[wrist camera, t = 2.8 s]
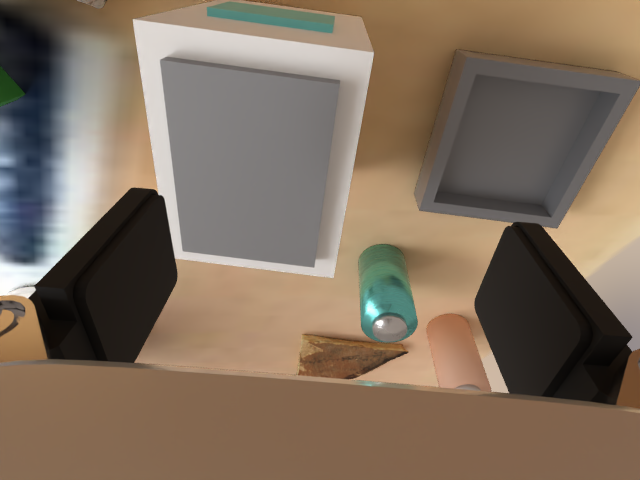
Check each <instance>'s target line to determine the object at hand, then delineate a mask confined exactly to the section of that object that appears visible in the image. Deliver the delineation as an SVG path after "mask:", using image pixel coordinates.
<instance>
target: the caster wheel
mask: <svg viewBox="0 0 640 480" xmlns="http://www.w3.org/2000/svg"><path fill="white" fill-rule="evenodd" d="M77 1H80V2H82V3H85V4H87V5H90V6H93V7H95V8H98V9H99V8H103V7H104V5H105V3H106V1H107V0H77Z"/></svg>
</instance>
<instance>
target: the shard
mask: <svg viewBox="0 0 640 480" xmlns="http://www.w3.org/2000/svg"><path fill="white" fill-rule="evenodd" d="M407 353H408V351H407V350H405V349H404V348H403V344H391V343H370V342H360V341H354V342H352V341H348V340H340V339H331V338H325V337H319V336H314V335H304V334H302V342H301V351H300V357H299V364H298V370H297V373H296V375H300V376H312V377H324V378H336V379H348V380H349V379H353V378H356V377H358V376H360V375H363V374H365V373H367V372H369V371H372V370H373V369H375V368H378V367H379V366H381V365H383V364H385V363H387V362H388V361H390V360H392V359H395V358H396V357H400V356H402V355H404V354H407Z"/></svg>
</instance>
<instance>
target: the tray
mask: <svg viewBox="0 0 640 480" xmlns="http://www.w3.org/2000/svg"><path fill="white" fill-rule="evenodd" d="M639 86H640V80H638V79H635V78H632V77H630V76H627V75H624V74H622V73H619V72H616V71H609V70H601V69H594V68H587V67H580V66H573V65H565V64H558V63H551V62H544V61H537V60H529V59H522V58H515V57H508V56H501V55H493V54H486V53H479V52H472V51H465V50H457V49H456V52H455V55H454V59H453V62H452V66H451V69H450V72H449V76H448V79H447V83H446V86H445V89H444V93H443V96H442V100H441V103H440V106H439V110H438V113H437V117H436V120H435V123H434V127H433V130H432V134H431V137H430V140H429V144H428V147H427V151H426V154H425V157H424V161H423V164H422V168H421V171H420V174H419V178H418V181H417V185H416V188H415V191H414V196H415V199H416V202H417V206H418V209H419V211H426V212H434V213H441V214H449V215H457V216H465V217H473V218H480V219H488V220H496V221H504V222H511V223H514V222H528V223H538V224H540V225H541V226H543V227H550V228H558V226H559V225H560V223H561V221H562V220H563V218H564V216H565V214H566V213H567V211H568V209H569V207H570V206H571V204H572V202H573V201H574V199H575V197H576V195H577V194H578V192H579V190H580V188H581V187H582V185H583V183H584V181H585V180H586V178H587V176H588V175H589V173H590V171H591V169H592V168H593V166H594V164H595V162H596V161H597V159H598V157H599V156H600V154H601V152H602V150H603V149H604V147H605V145H606V143H607V142H608V140H609V138H610V136H611V135H612V133H613V131H614V130H615V128H616V126H617V124H618V123H619V121H620V119H621V117H622V116H623V114H624V112H625V111H626V109H627V107H628V105H629V104H630V102H631V100H632V98H633V97H634V95H635V93H636V92H637V90H638V88H639Z"/></svg>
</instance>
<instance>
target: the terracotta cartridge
mask: <svg viewBox="0 0 640 480" xmlns="http://www.w3.org/2000/svg"><path fill="white" fill-rule="evenodd" d="M427 335H428V339H429V344H430V348H431V353H432V357H433V362H434V366H435V370H436V375H437V379H438V384H439V387H442V388H454V389H465V390H476V391H488V392H491V387H490V384H489V381H488V379H487V376H486V373H485V370H484V367H483V364H482V361H481V358H480V355H479V353H478V350H477V347H476V344H475V341H474V338H473V335H472V333H471V330H470V327H469V324H468V322H467V320H466V319H465V318H464V317H462V316H460V315H456V314H444V315H440V316H438V317H436V318H434V319H432V320H431V321H430V322H429V324H428V325H427Z"/></svg>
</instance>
